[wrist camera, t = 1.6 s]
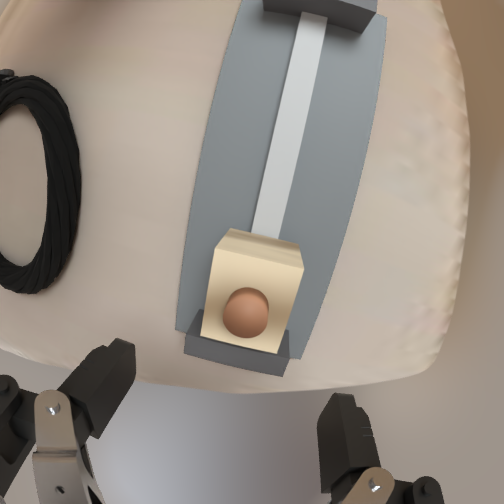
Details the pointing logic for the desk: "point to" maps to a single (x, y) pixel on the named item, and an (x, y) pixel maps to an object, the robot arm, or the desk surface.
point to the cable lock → (58, 186)
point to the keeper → (251, 290)
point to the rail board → (283, 154)
